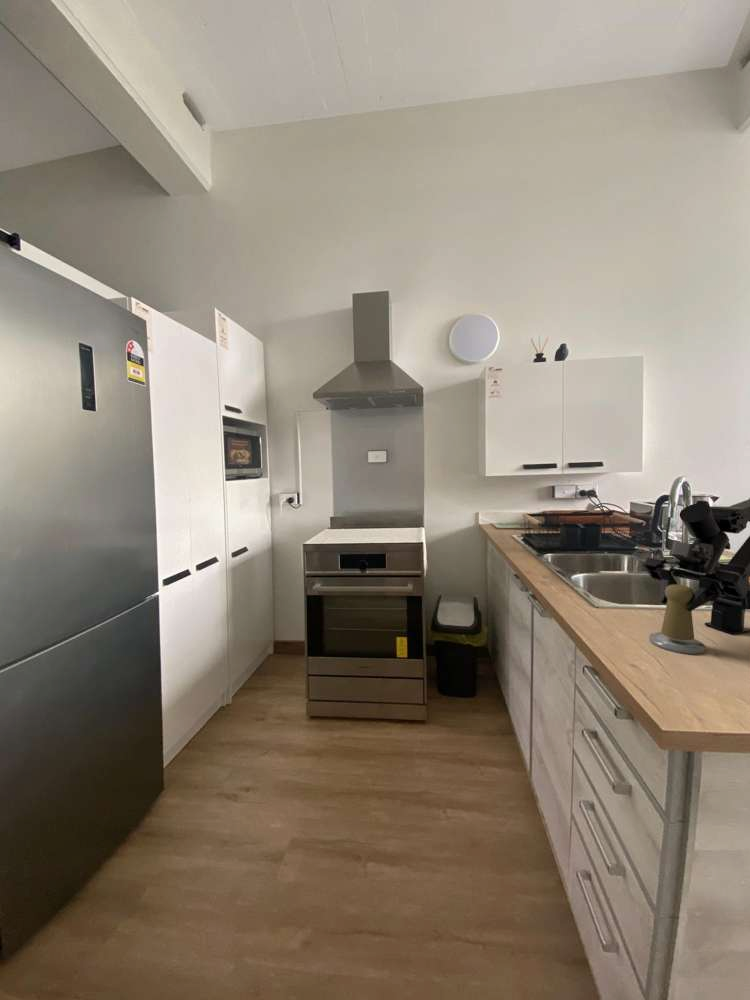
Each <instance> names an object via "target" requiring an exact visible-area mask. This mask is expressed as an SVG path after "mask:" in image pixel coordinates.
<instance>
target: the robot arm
mask: <svg viewBox="0 0 750 1000" xmlns="http://www.w3.org/2000/svg"><path fill="white" fill-rule="evenodd" d="M679 518H680V520H681V521H682V523H683V525H684V527H685V529H686V530H687V532H688V534H689V535H690V536H691V537H693V538H694V540H693V541H692V543H689V542H682V541H676V540H675V541H672V544H671V548H670V551H669V554H668V555H669V556H671V557H673V558H675V560H674V562H675V564H676V565H679V566H678V567H676V566H673V565H671V564H669V563H668V561H667V560H666V559H664V558H663V559H662V558H659V557H652V556H650V557H647V558H645V560H644V562H643V564H642V565H643V566H644V569H645V571H647V573H648V575H649V576H650V578H651V579H654V580H657V581H661V596H660V597H661V598H660V603H661V604H662V605H665V604H667V601H668V599H667V597H666V595H665V590H666V587H667V586H669V585H679V583H677V580H676V579H677V578H681V579H685V580H690V581H694V582H698V587H697V588H696V590H695V591H694V595H693V597H692V598H691V600H690V602H689V604H688V606H687V610H688V611H691V612H692V611H694V610H695V609H697V608H699V607H701V606H703V605H705V604H706V603H709V602H712V606H711V607H712V608H711V610H710V611H711V613H710V621H708V622H704V625H705V626H707V627H709V628H713V629H715V630H718V631H721V632H724V633H727V634H729V635H730V634H731V635H736V634H742V633H744V632H745V633H749V632H750V628H748V627H745V615H746V614H745V613H746V610H750V535H749V536H748V537H747V538H746V540H744V542H743V543H742V545H741V546H740V547H739V548H738V550H737V551H736V552H735V554H734V555H733V556H732V557H731V559H729V561H728V562H727V563H721V562H720V561H719V560H720V558H721V557H722V555H723V553H724V551H725V550H730V549H731V544H730V538H729V536H728V535H727V534H728V533H729V534H740V533H741V532H742V531H744V530H745V529H746V528H747V526H748V525H747V524H748V522H749V523H750V497H749V498H748V499H747V500H743V501H740V502H738V503H735V504H732V505H730V506H721V505H720V506H719V505H717V506H715V505H714V506H711V505H710V503H709V501H708V500H697V501H696V502H695V503H694V504H690V505H688V506H686V507H683V509H681V510H680V512H679ZM726 533H727V534H726Z"/></svg>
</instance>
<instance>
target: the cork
mask: <svg viewBox="0 0 750 1000" xmlns="http://www.w3.org/2000/svg"><path fill="white" fill-rule="evenodd" d="M694 593H695V591H694V590H693V588H691V587H690V586H686V585H683V584H678V585H669V586H667V587H666V590H665V595H666V597H667V599H668V601H667V602H666V606H665V609H664V610H665V611H664V615H663V621H662V625H661V630H660V632H661V633H662V634H663V635H665V636H668V637H671V638H674V639H679V640H693V639H695V631H694V630H695V629H694V624H693V615H692V614H693V613H692V611H688V610H687V606H688V604H689V602H690V600H691V598H692V597H693V595H694Z"/></svg>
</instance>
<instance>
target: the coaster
mask: <svg viewBox="0 0 750 1000" xmlns="http://www.w3.org/2000/svg"><path fill="white" fill-rule="evenodd" d="M648 639H649V640H648V641H649V642H650V643H651V644H653V646H656V647H658V648H659V649H662V650H666V651H669V652H672V653H677V654H683V655H701V654H703V653H705V650H706V645H705V644H704V643H702V642H701V641H700V640H698V639H696V638H694V639H693V640H679V639H674V638H671V637H668V636H665V635H663V634H662V633H661V631H659V632H653V633H650V634H649V638H648Z"/></svg>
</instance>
